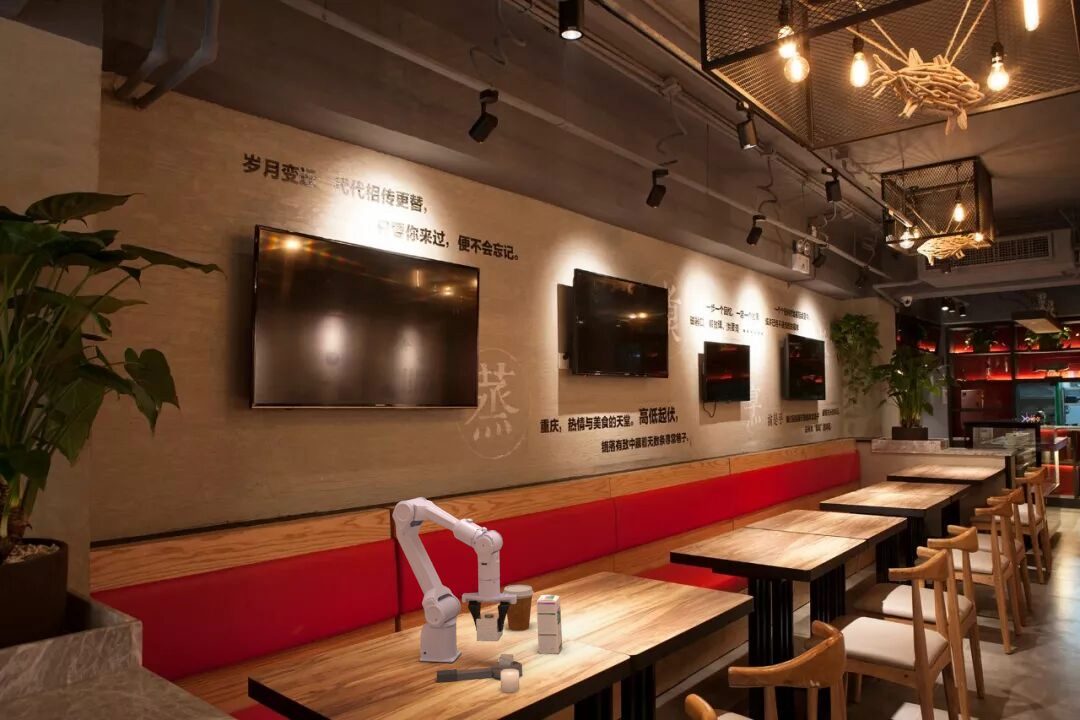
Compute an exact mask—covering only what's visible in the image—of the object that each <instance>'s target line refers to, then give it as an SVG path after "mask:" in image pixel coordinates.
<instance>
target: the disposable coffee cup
mask: <svg viewBox="0 0 1080 720" xmlns="http://www.w3.org/2000/svg"><path fill="white" fill-rule="evenodd" d="M502 593H504V594H512V595H517V602H516V603H515V604H510V607H509V609H508V611H507V614H506V617H507V623H508V624H507V625H508V629H509V630H510V631H515V632H521V631H522V632H523V631H526V630H528V629H529V628H530V621H531V612H532V611H531V609H532V603H533V602H532V601H533V595H534V590H533V587H532V586H531V585H527V584H513V585H508V586H505V587H504V589H503V592H502Z"/></svg>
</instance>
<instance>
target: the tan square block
mask: <svg viewBox="0 0 1080 720" xmlns="http://www.w3.org/2000/svg"><path fill="white" fill-rule="evenodd" d="M476 626H477V631H476V641H477V642H499V640H500V639H501V638H502V636H503V631H502V632H499V613H498V612H482V613H481V612H480V616H479V617H478V618H477V619H476Z"/></svg>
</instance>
